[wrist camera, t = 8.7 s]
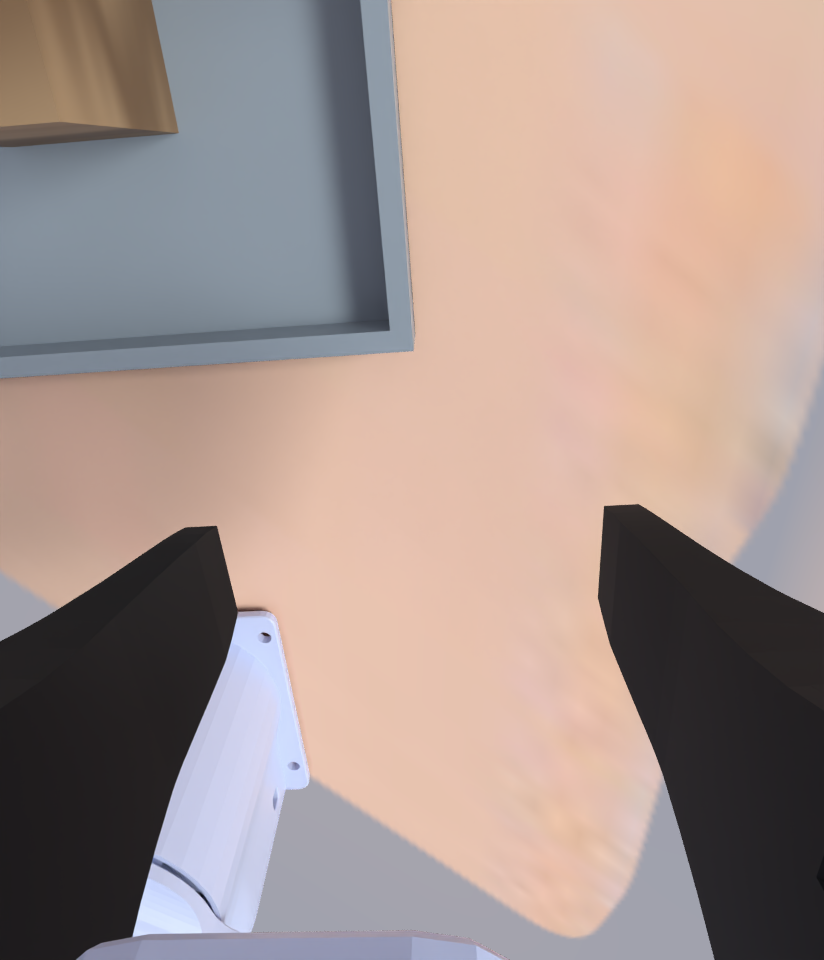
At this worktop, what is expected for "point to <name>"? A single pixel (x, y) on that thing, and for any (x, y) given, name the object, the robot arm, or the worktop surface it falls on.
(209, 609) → the robot arm
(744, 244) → the worktop surface
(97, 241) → the tray
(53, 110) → the block
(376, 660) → the worktop surface
